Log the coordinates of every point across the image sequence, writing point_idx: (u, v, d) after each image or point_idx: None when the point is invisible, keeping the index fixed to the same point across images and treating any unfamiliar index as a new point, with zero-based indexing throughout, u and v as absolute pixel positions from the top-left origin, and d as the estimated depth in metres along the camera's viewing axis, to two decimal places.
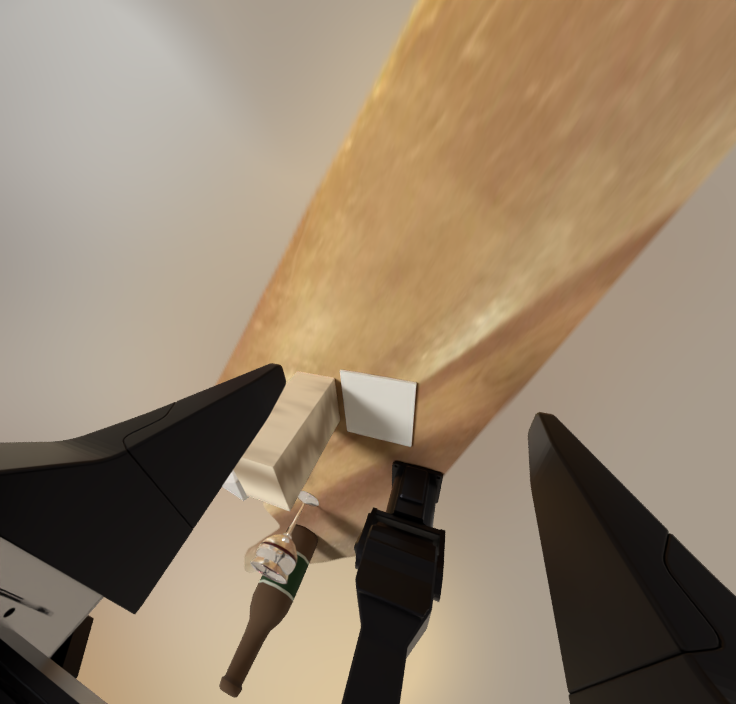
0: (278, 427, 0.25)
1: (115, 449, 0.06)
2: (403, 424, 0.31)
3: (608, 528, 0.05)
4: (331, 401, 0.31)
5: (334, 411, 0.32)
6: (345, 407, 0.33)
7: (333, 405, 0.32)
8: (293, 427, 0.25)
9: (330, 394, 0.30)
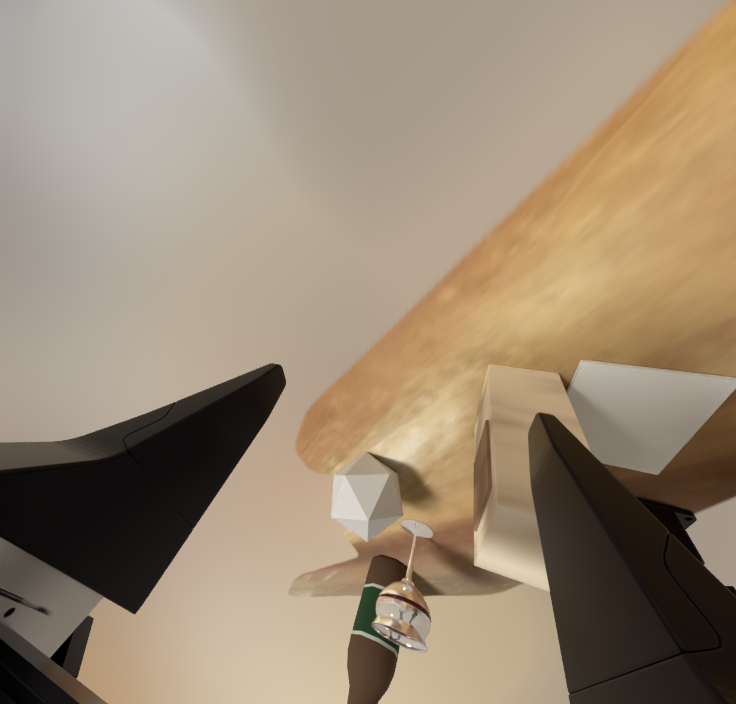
0: None
1: (115, 449, 0.06)
2: (665, 443, 0.20)
3: (608, 528, 0.05)
4: None
5: None
6: None
7: None
8: None
9: None
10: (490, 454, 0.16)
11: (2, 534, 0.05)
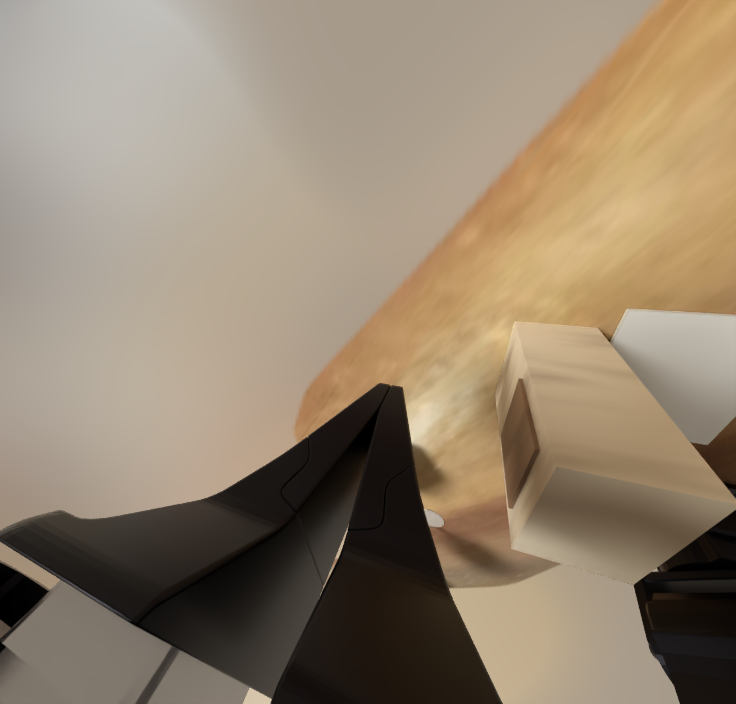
0: (615, 410, 0.12)
1: (281, 509, 0.05)
2: (721, 406, 0.18)
3: (369, 462, 0.06)
4: None
5: None
6: None
7: None
8: (648, 409, 0.12)
9: None
10: (531, 413, 0.13)
11: (196, 653, 0.03)
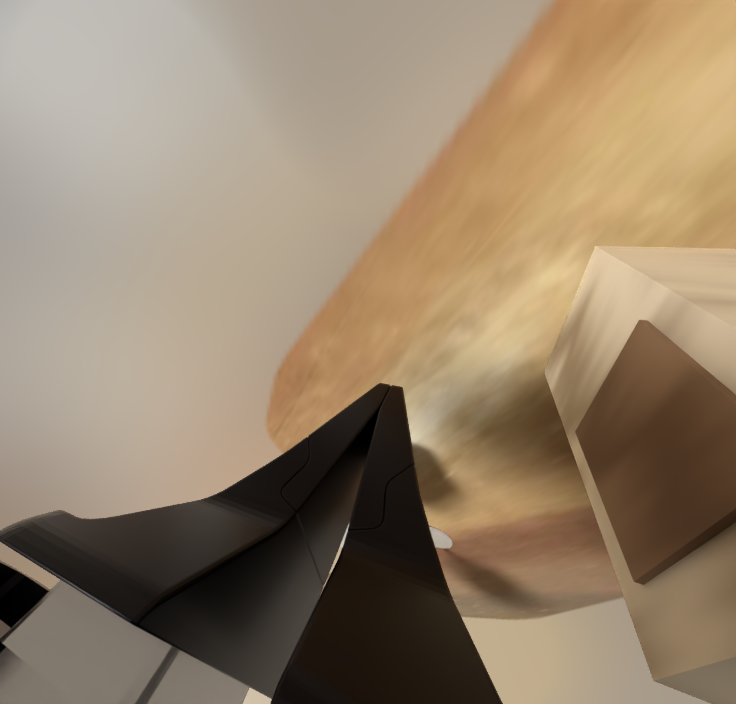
0: None
1: (280, 509, 0.05)
2: None
3: (368, 462, 0.06)
4: None
5: None
6: None
7: None
8: None
9: None
10: (718, 377, 0.06)
11: (196, 653, 0.03)
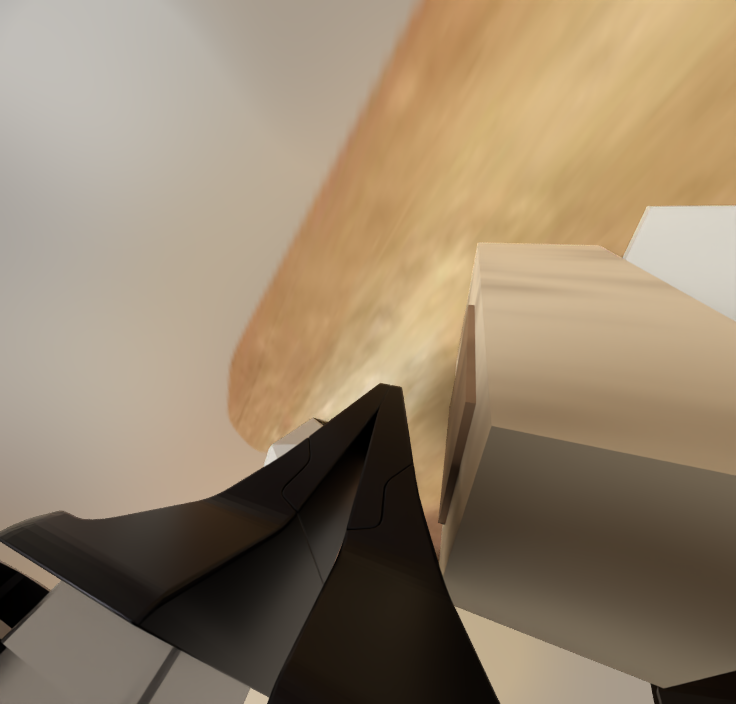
0: (639, 326, 0.06)
1: (282, 510, 0.05)
2: None
3: (367, 462, 0.06)
4: None
5: None
6: None
7: None
8: (707, 324, 0.06)
9: None
10: (474, 346, 0.07)
11: (197, 654, 0.03)
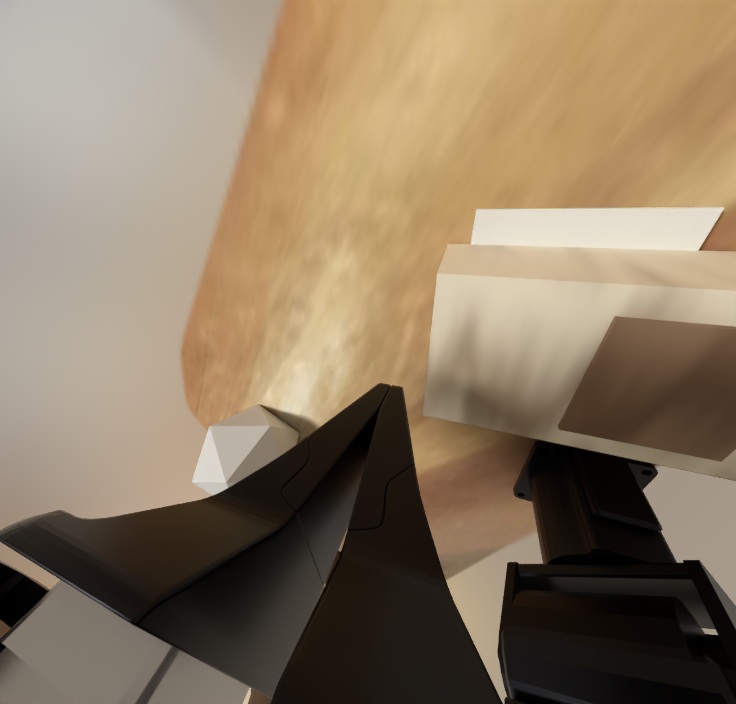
0: (688, 261, 0.09)
1: (281, 509, 0.05)
2: None
3: (368, 462, 0.06)
4: None
5: None
6: None
7: None
8: (654, 252, 0.10)
9: None
10: None
11: (196, 653, 0.03)
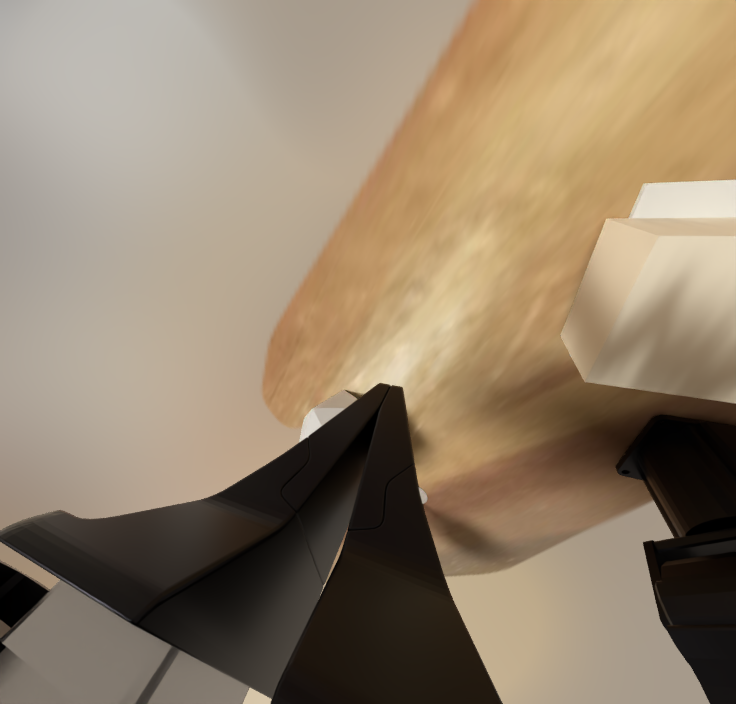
0: None
1: (280, 509, 0.05)
2: None
3: (368, 462, 0.06)
4: None
5: None
6: None
7: None
8: None
9: None
10: None
11: (195, 653, 0.03)
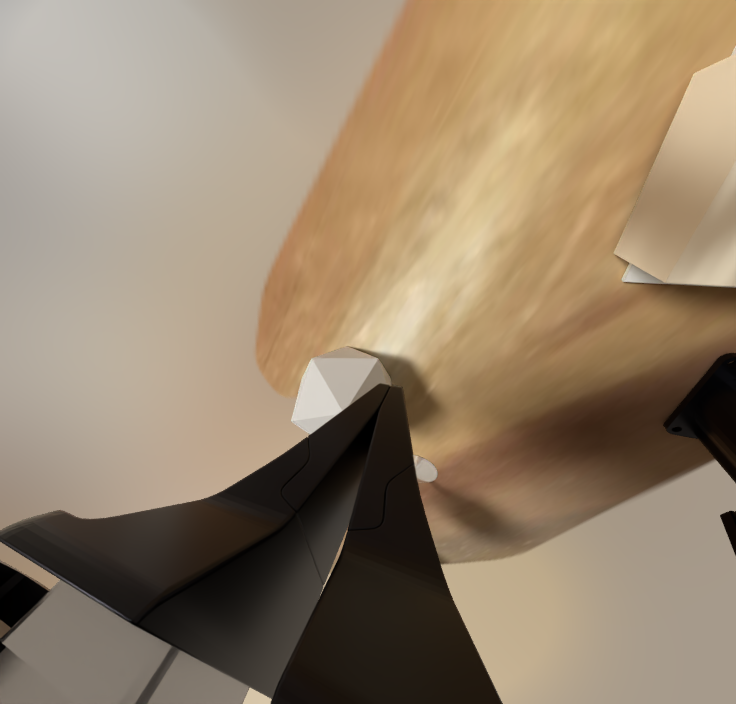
0: None
1: (281, 510, 0.05)
2: None
3: (368, 462, 0.06)
4: None
5: None
6: None
7: None
8: None
9: None
10: None
11: (196, 653, 0.03)
